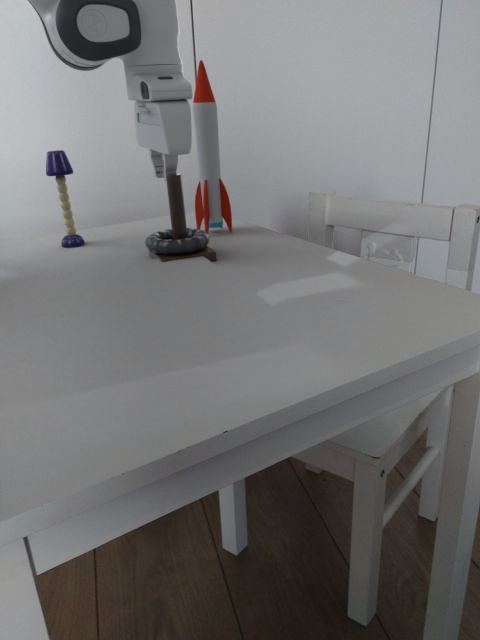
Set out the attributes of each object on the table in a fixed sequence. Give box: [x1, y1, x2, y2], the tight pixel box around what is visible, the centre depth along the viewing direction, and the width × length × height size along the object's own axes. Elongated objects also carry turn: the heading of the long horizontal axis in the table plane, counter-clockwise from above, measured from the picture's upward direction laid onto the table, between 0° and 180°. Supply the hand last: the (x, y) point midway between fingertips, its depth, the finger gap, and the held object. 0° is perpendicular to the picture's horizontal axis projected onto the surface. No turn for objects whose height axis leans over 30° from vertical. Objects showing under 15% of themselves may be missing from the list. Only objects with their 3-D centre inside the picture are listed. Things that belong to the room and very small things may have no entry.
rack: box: [148, 172, 218, 263], centre depth 92 cm, size 9×9×14 cm
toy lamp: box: [45, 149, 86, 248], centre depth 104 cm, size 5×5×17 cm
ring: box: [144, 227, 211, 255], centre depth 95 cm, size 10×10×2 cm
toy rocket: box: [192, 59, 233, 236], centre depth 105 cm, size 6×6×30 cm
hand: (165, 179), depth 94 cm, fingers open, 4 cm apart
